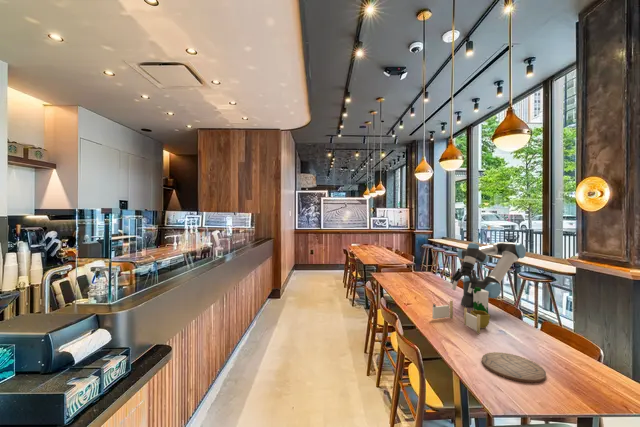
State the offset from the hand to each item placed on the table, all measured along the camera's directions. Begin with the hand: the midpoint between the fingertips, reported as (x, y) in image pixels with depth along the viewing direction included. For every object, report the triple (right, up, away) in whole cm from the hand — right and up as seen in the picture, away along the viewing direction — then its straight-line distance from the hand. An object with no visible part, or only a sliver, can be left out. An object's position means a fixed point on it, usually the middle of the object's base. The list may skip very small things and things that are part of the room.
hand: (461, 291), depth 205 cm
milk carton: (+15, -18, +3) cm, 24 cm away
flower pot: (+3, -18, -19) cm, 26 cm away
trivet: (-10, -18, -70) cm, 73 cm away
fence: (-6, -18, -16) cm, 25 cm away
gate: (-17, -17, -6) cm, 24 cm away
